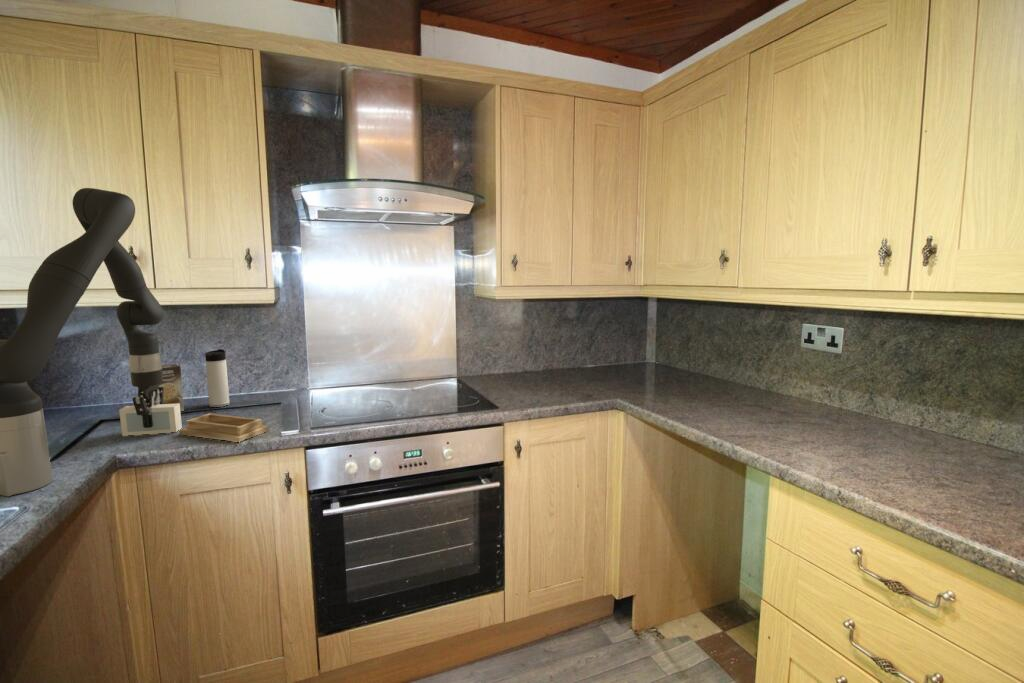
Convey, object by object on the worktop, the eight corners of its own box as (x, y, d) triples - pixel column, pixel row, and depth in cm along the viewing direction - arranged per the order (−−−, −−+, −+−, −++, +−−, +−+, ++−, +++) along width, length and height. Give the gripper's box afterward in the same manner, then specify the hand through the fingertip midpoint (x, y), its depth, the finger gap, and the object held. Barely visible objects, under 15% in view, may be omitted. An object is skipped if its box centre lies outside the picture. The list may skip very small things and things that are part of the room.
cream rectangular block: (176, 432, 146) (173, 406, 145) (122, 436, 143) (119, 409, 142) (182, 428, 150) (179, 403, 149) (129, 431, 147) (126, 406, 146)
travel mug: (234, 403, 178) (229, 349, 175) (221, 408, 172) (217, 352, 169) (218, 402, 179) (213, 348, 176) (205, 407, 172) (200, 351, 169)
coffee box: (153, 418, 160) (148, 370, 158) (147, 414, 164) (142, 367, 162) (185, 411, 167) (180, 365, 165) (178, 408, 171) (174, 363, 169)
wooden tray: (239, 443, 138) (238, 429, 137) (179, 435, 144) (178, 422, 143) (268, 431, 148) (267, 418, 148) (212, 424, 154) (211, 411, 154)
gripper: (149, 373, 138) (155, 431, 140) (171, 363, 151) (176, 417, 154) (118, 374, 136) (125, 433, 138) (143, 364, 150) (149, 418, 152)
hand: (152, 424), depth 146 cm, fingers closed on cream rectangular block, 4 cm apart
